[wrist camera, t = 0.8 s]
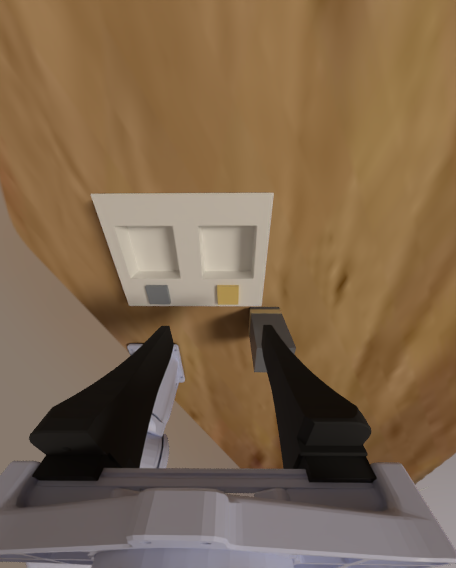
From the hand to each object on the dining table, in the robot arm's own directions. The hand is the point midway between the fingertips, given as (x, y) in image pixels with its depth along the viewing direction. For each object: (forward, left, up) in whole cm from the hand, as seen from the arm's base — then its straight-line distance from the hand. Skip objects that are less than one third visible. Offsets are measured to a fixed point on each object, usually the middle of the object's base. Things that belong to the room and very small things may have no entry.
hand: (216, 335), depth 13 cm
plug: (-6, -6, -10) cm, 13 cm away
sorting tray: (+4, +3, -10) cm, 11 cm away
